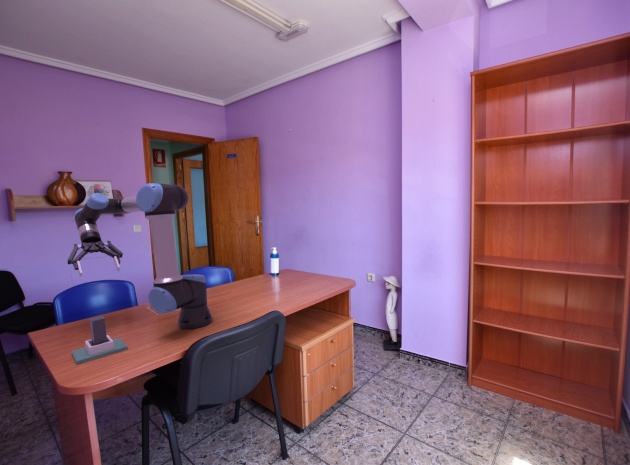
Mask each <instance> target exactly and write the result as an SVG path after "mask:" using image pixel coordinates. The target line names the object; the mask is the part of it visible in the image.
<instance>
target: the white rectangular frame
mask: <svg viewBox="0 0 630 465" xmlns="http://www.w3.org/2000/svg"><path fill="white" fill-rule="evenodd" d="M147 309H148V310H149V311H150V312H153V313H154V314H156V315H157V316H160V315H161V313H158V312H156V311H155V310H154V311H153V310H152V309H151V308H150V306H147ZM179 309H180V308H179ZM179 309H176V310H175V311H176V312H177V311H179ZM175 311H174V312H175Z"/></svg>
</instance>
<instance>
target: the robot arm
mask: <svg viewBox="0 0 630 465" xmlns="http://www.w3.org/2000/svg"><path fill="white" fill-rule="evenodd" d="M189 199H190V197H189V194H188V192H187V190H186V189H185V188H184V187H182V186H181V185H178V184H172V183H171V184H169V183H168V184H167V183H157V182H154V183H152V182H151V183H149V182H148V183H145V184H143V185H142V186H141V187H140V188H139V190H138V191H137V193H136V195H133V196H127V197H121V198H108V197H107V196H106V195H104V194H101V193H99V192H96V193H92V194H90V195H89V197H88V199H87V200H86V201H85V204H84V205H83V207H82V208H79V209H77V210H75V211H74V215H73V216H74V222H75V225H76V228H77V231H78V234H79V238H80V243H81V244H78V243H74V244H73V248H72V250H71V253H70V254H69V256H68V258H67V265H72V266H73V268H74V270H75V271H78V275H79V278H82V277H83V270H82V267H81V266H82V265H81V260H83V258H84V257H85V256H87V255H88V254H93V253H102V254H105V255H107V256H109V257H111V258H113V261H114V262H113V263H114V265H115V268H116V269H115V270H116V271H117V272H120V268H121V266H120V265H121V259H122V258H123V255H124V253H123V251H121V250H119V248H118V247H116V246H115V245H113V244H112V242H111V240H107V242H105V241H103V240H102V238H101V234H100V231H99V228H98V225H97V221H98V220H99V219H100V217H101V216H102V215H116V214H124V215H125V214H130V213H137V212H143V213H144V218H146V219H147V220H148V221H149V226H150V233H151V235H150V236H151V242H152V243H151V244H152V251H153V259H154V267H155V276H156V278H155V279H154V280H153V282H152V284H153V288H151V289H150V291H149V292H148V296H147V298H148V299H147V300H148V302H149V305H150V308H152V309H153V310H154V312H156V313H158V314H161V315H164V314H169V313H172V312H175V310H176V311H177V310H178V309H180V311H179V314H178V319H177V327H178V328H180V329H186V330H188V329H189V330H191V329H192V330H193V329H199V328H202V327H205V326H208V325H210V324H211V323H212V322H213V315H212V313H211V312H212V311H211V310H210V309H209V308H210V307H209V305H208V294H207V293H208V292H207V280H206V276H205V275H203V274H198V273H197V274H196V273H193V274H182V275H180V273H179V267H178V266H179V265H178V256H177V249H176V240H175V232H174V224H173V219H174V218H175V216H176V212H178V211H180V210H184V208H186V207H187V205H188V203H189V201H190V200H189ZM80 249H82V250H81V252H79V254H78V255H77V253H78V251H79V250H80Z"/></svg>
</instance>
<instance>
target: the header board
mask: <svg viewBox="0 0 630 465" xmlns="http://www.w3.org/2000/svg"><path fill="white" fill-rule="evenodd" d="M106 336H107V342H106V343H102V344H98V345H95V346H92V339H88V340H85V342H84V343H85V346H84V347H82V348H81V347H80V348H77V349H73V350H71V355H72V356H73V359H74V362H75V364H76V365H79V364H80V365H81V364H82V363H83V364H84V363H87V362H90V361H92V360H93V361H94V360H96V359H100V358H103V357H106V356H110V355H113V354H117V353H119V352H123V351H126V350H128V349H129V348H128V345H127V344H126V343H125V342H124V340H122V338H120V337H118V338H114V339H113V338H112V337H110V335H109V334H106Z"/></svg>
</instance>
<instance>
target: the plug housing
mask: <svg viewBox="0 0 630 465" xmlns="http://www.w3.org/2000/svg"><path fill="white" fill-rule="evenodd" d="M89 328H90V338H91V339H92V346H95V345H98V344H102V343H106V342H107V336H106V335H107V328H106V318H105V317H104V316H103V314H101V315H97V316H92V317H89ZM91 339H90V340H91Z"/></svg>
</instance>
